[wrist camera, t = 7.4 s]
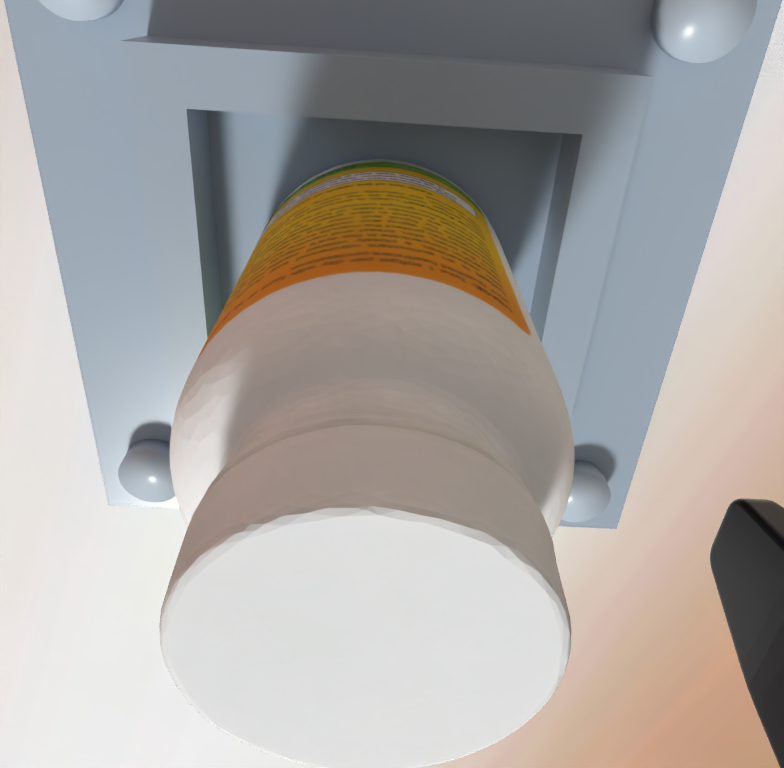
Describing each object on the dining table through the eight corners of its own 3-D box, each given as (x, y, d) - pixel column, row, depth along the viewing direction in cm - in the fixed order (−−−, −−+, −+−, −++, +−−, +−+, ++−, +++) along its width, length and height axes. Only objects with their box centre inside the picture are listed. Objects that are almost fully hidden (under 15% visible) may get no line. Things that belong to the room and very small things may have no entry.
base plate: (773, -78, 12) (857, -93, 10) (604, 500, 19) (631, 566, 17) (10, -135, 12) (-79, -163, 10) (123, 477, 19) (87, 541, 17)
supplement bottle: (207, 235, 14) (-58, 589, 6) (429, 100, 13) (500, 310, 4) (341, 417, 17) (289, 853, 8) (541, 320, 15) (721, 726, 7)
